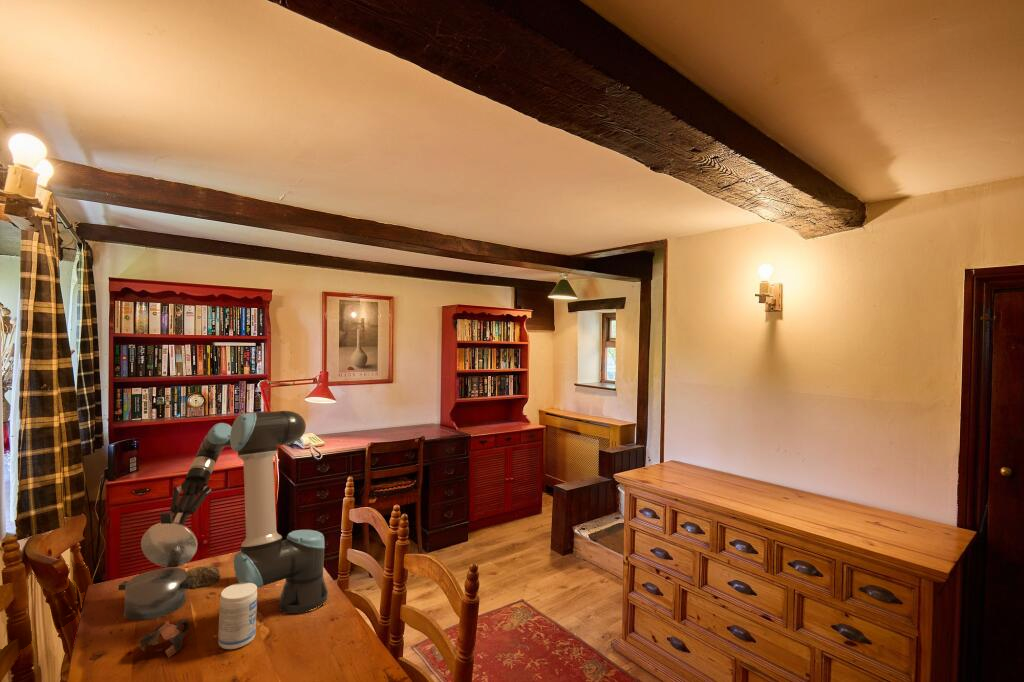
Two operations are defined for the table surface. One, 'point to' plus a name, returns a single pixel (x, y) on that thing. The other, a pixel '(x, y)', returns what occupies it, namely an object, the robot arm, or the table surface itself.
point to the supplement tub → (237, 615)
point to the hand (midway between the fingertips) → (173, 532)
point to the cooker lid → (169, 543)
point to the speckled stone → (203, 576)
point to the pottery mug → (167, 636)
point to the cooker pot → (155, 593)
